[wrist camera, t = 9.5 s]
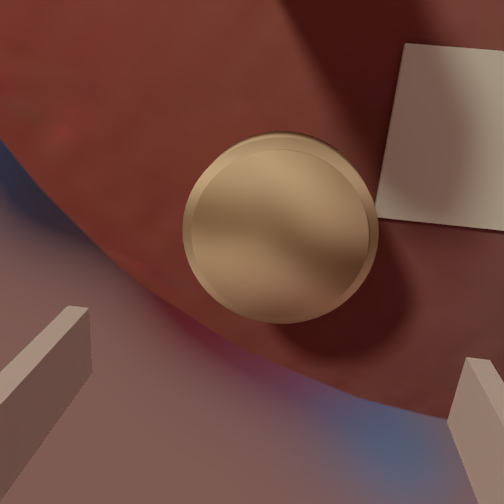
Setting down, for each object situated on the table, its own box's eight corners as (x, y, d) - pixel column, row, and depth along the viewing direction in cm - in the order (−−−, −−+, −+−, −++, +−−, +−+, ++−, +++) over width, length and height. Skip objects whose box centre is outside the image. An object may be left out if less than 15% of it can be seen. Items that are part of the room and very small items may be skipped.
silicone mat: (590, 58, 31) (594, 58, 30) (535, 232, 35) (538, 234, 35) (404, 43, 31) (405, 43, 31) (372, 215, 36) (373, 216, 35)
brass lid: (356, 309, 33) (362, 335, 29) (191, 291, 33) (179, 315, 30) (385, 139, 28) (396, 148, 25) (196, 123, 29) (182, 130, 26)
